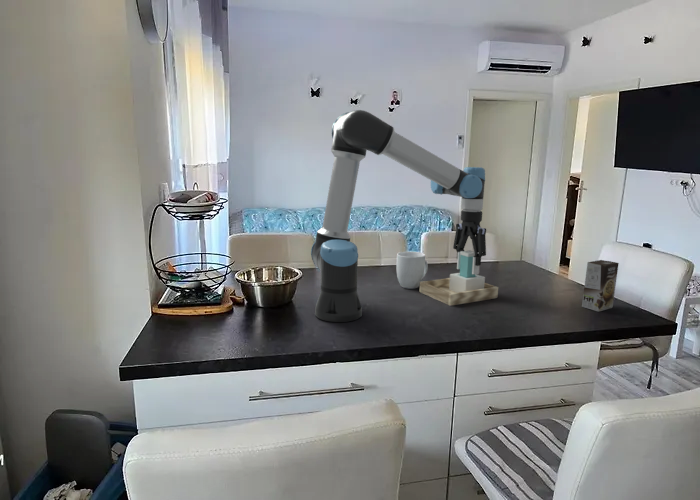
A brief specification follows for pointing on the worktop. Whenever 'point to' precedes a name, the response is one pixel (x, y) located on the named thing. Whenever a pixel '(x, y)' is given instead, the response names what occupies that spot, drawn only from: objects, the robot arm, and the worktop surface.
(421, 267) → the mug
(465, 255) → the plug
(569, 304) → the worktop surface
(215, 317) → the worktop surface
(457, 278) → the inlet
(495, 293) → the wooden tray
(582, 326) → the worktop surface
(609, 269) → the coffee box
